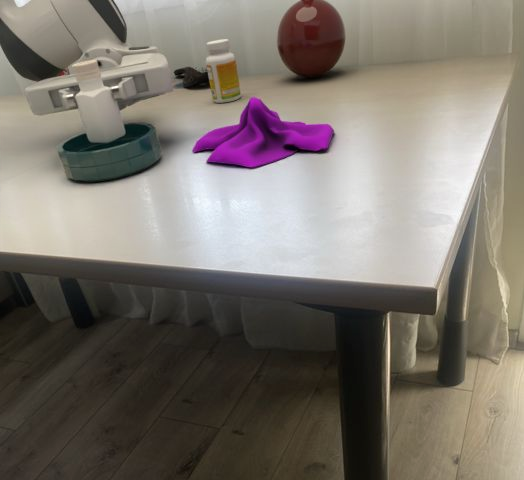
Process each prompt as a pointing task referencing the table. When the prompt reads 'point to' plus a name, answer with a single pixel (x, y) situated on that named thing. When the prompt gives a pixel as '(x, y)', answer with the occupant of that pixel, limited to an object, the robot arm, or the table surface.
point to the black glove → (192, 76)
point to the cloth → (262, 138)
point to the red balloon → (311, 38)
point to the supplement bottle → (222, 72)
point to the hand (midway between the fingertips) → (94, 98)
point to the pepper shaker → (97, 104)
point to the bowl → (110, 154)
